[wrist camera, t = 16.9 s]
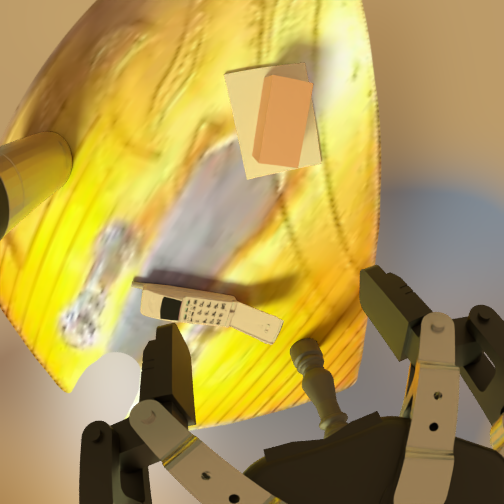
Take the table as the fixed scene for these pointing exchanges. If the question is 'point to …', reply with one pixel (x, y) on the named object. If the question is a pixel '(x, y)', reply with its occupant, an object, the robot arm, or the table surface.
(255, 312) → the mobile phone
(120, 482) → the robot arm
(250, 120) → the beige flat plate
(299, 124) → the card box
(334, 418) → the candle holder
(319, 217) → the table surface
